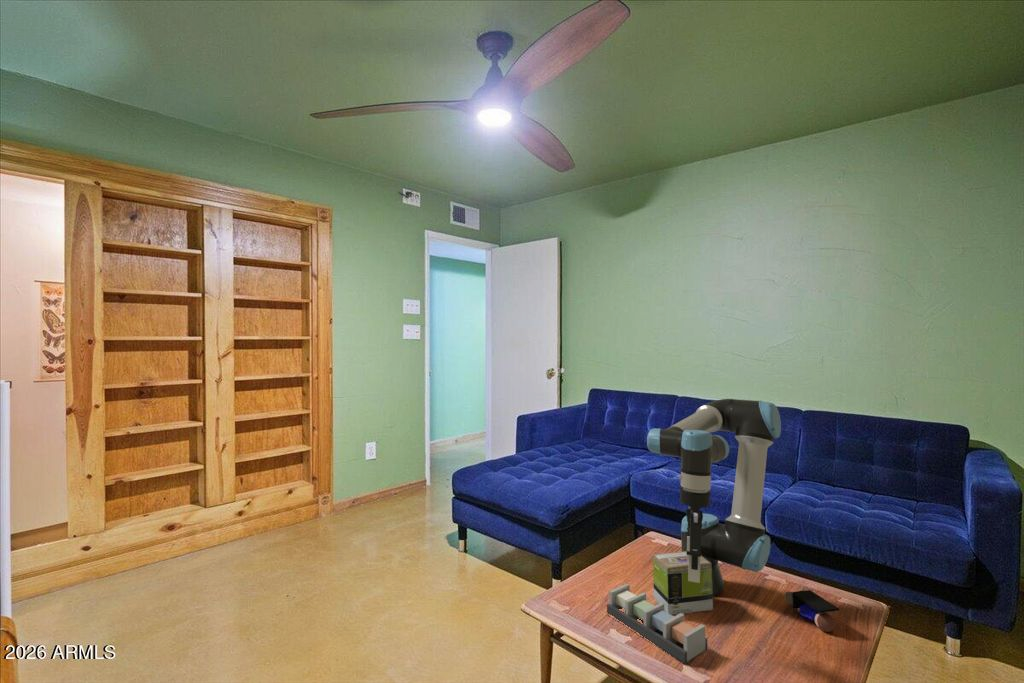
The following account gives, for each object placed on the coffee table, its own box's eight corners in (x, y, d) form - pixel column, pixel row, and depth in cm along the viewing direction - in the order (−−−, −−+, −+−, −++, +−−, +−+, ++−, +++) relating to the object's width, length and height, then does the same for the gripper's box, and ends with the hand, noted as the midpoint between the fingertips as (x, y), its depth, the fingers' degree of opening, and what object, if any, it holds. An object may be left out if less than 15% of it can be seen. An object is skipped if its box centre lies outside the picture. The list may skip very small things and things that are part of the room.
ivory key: (626, 599, 146) (626, 590, 146) (638, 605, 142) (638, 596, 142) (616, 603, 143) (616, 594, 143) (628, 610, 139) (628, 601, 139)
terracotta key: (682, 631, 130) (682, 621, 130) (697, 640, 126) (697, 629, 126) (671, 637, 127) (671, 626, 127) (686, 646, 123) (686, 635, 123)
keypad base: (629, 604, 148) (629, 582, 148) (707, 650, 126) (707, 624, 126) (606, 614, 143) (606, 592, 143) (684, 664, 121) (684, 638, 121)
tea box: (695, 594, 154) (695, 549, 154) (713, 611, 144) (713, 563, 144) (652, 598, 152) (652, 552, 152) (668, 616, 142) (667, 567, 142)
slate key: (662, 619, 135) (662, 609, 135) (675, 627, 131) (675, 617, 131) (651, 625, 132) (651, 615, 132) (665, 633, 129) (665, 623, 129)
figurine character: (784, 612, 147) (821, 636, 132) (782, 586, 148) (819, 607, 133) (803, 610, 148) (843, 634, 133) (801, 585, 148) (840, 605, 134)
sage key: (643, 609, 140) (643, 599, 140) (656, 616, 137) (656, 606, 137) (633, 614, 138) (633, 604, 138) (645, 621, 134) (645, 611, 134)
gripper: (679, 478, 138) (677, 551, 137) (680, 498, 115) (678, 588, 114) (707, 481, 136) (705, 556, 135) (714, 502, 113) (711, 594, 111)
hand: (692, 571), depth 124 cm, fingers open, 13 cm apart
